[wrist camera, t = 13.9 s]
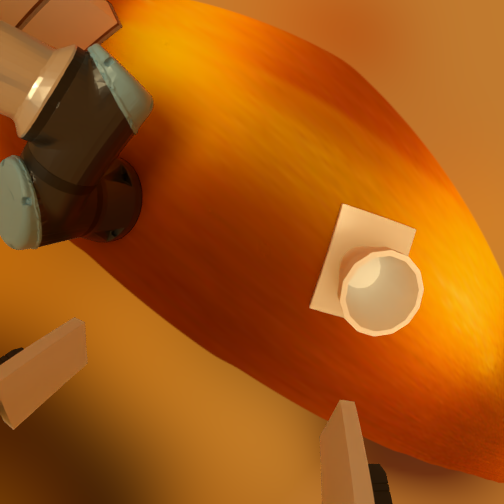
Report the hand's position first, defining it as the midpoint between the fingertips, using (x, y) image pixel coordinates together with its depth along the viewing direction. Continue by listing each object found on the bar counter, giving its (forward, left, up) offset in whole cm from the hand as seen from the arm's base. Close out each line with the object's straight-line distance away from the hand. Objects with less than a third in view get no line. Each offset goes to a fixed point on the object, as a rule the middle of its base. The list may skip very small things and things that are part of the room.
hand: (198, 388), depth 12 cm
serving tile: (+14, +3, -32) cm, 35 cm away
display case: (-48, +37, -33) cm, 69 cm away
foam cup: (+13, +3, -31) cm, 34 cm away
